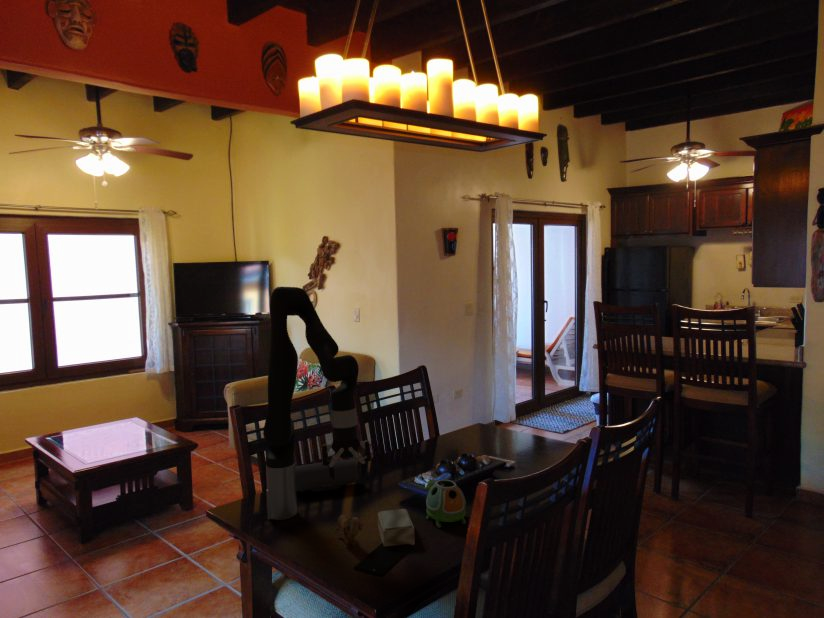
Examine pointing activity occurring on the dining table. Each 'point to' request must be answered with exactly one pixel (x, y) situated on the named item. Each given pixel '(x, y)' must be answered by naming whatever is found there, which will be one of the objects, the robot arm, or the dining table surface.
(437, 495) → the turtle holder
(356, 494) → the dining table surface
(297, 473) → the bluetooth speaker
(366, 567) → the cell phone
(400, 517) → the plinth
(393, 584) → the dining table surface
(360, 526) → the lion figurine
